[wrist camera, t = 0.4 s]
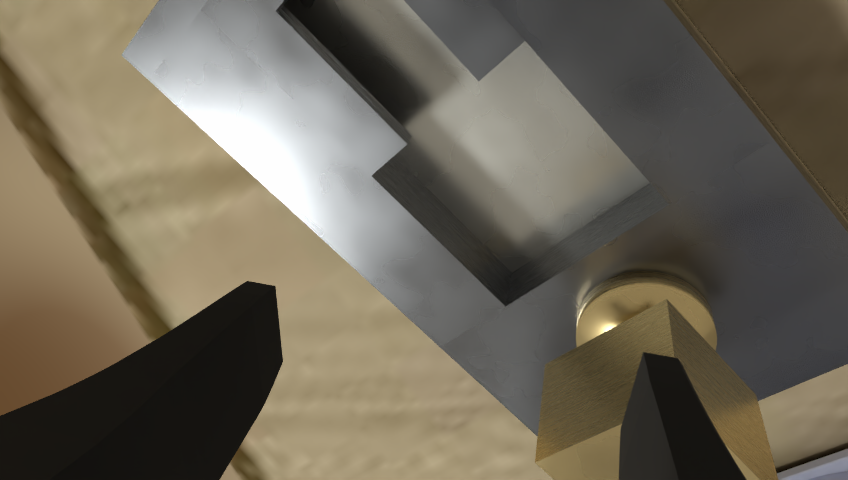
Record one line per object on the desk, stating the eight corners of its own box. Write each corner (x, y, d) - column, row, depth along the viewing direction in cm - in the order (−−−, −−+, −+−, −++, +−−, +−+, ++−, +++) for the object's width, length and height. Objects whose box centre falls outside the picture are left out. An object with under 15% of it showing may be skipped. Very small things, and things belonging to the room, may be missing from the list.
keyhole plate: (891, 275, 21) (925, 331, 19) (581, 420, 27) (579, 474, 25) (422, -320, 16) (392, -341, 13) (170, 29, 22) (121, 55, 20)
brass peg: (740, 336, 20) (785, 505, 15) (628, 390, 22) (636, 553, 17) (660, 248, 19) (679, 397, 14) (550, 312, 21) (535, 462, 16)
